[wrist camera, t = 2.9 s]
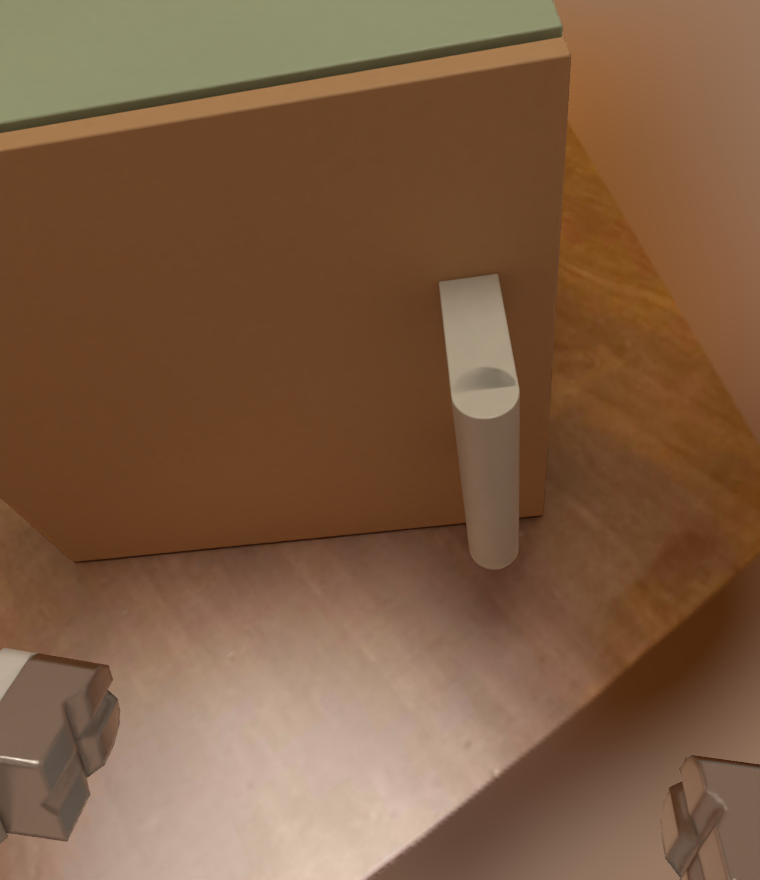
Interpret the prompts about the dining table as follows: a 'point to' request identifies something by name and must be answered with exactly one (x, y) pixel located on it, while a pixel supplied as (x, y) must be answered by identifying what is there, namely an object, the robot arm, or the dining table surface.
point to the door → (287, 310)
